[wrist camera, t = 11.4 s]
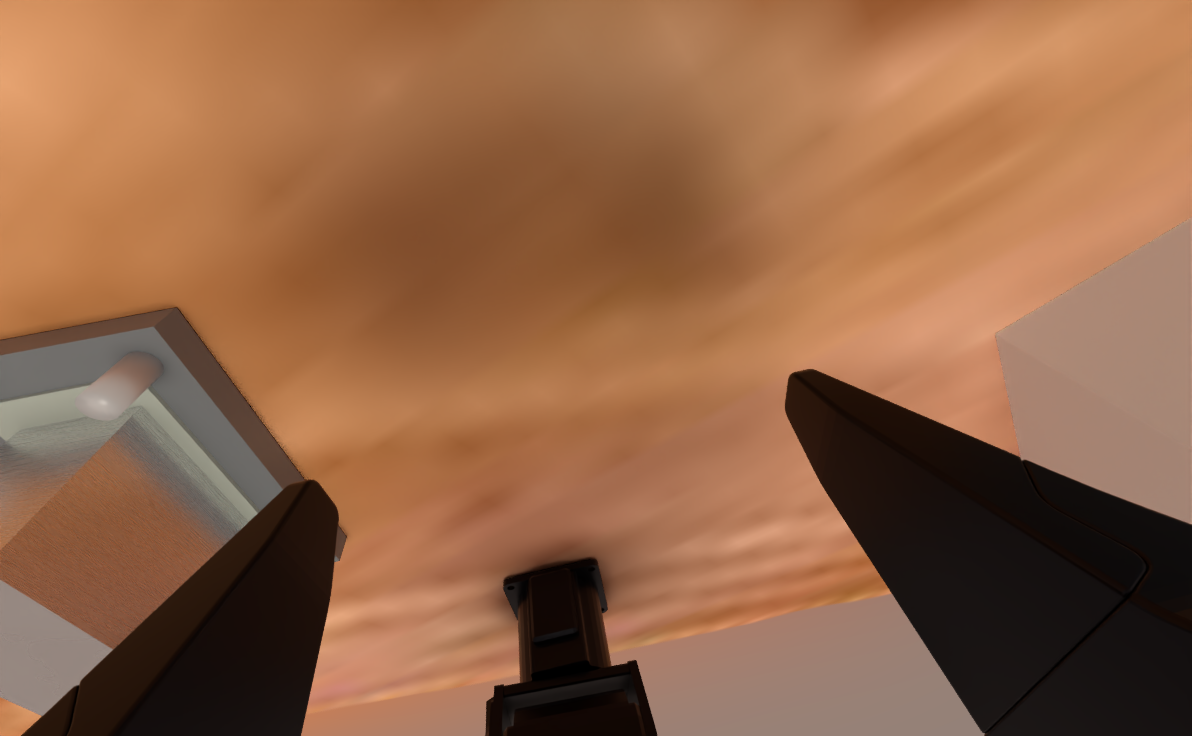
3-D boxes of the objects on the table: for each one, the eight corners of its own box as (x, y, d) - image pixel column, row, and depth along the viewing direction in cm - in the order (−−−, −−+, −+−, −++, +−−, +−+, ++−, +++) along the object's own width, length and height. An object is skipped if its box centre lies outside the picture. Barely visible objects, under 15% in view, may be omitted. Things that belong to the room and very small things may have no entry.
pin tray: (346, 537, 27) (325, 605, 24) (180, 573, 26) (136, 648, 23) (176, 307, 18) (106, 365, 15) (-79, 354, 18) (-209, 425, 14)
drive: (265, 540, 24) (192, 698, 18) (171, 561, 23) (65, 728, 18) (142, 405, 18) (-18, 568, 13) (17, 429, 18) (-203, 608, 12)
